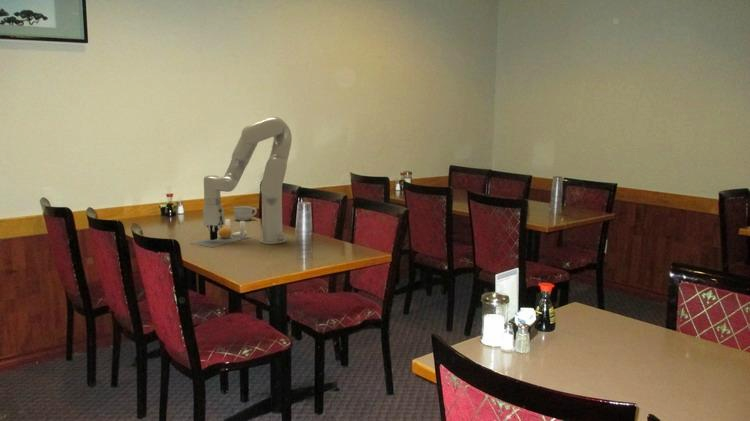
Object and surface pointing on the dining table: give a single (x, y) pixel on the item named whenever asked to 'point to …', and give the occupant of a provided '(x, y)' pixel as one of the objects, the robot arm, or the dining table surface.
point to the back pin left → (242, 229)
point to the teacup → (244, 213)
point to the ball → (225, 232)
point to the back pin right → (227, 223)
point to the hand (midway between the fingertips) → (213, 239)
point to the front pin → (237, 234)
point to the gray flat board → (218, 241)
